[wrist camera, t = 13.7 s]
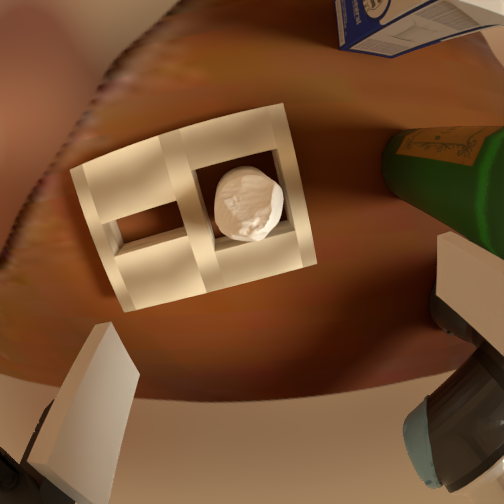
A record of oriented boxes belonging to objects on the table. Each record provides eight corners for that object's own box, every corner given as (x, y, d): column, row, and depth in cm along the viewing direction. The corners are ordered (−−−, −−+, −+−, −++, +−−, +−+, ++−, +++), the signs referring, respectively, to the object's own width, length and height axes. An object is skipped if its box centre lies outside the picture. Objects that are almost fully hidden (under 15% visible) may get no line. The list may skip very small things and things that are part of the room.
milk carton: (392, 60, 28) (523, 24, 9) (339, 51, 28) (457, -15, 9) (386, 9, 26) (498, -51, 7) (333, -2, 25) (428, -91, 6)
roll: (261, 161, 20) (314, 223, 22) (247, 154, 31) (282, 194, 33) (194, 222, 21) (249, 278, 22) (203, 193, 32) (239, 231, 34)
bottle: (450, 141, 32) (646, 191, 6) (427, 218, 35) (607, 330, 9) (385, 106, 30) (625, 111, 4) (359, 193, 33) (579, 323, 7)
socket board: (307, 250, 35) (317, 263, 31) (132, 295, 35) (124, 312, 31) (275, 107, 29) (283, 103, 26) (85, 165, 29) (69, 169, 26)
